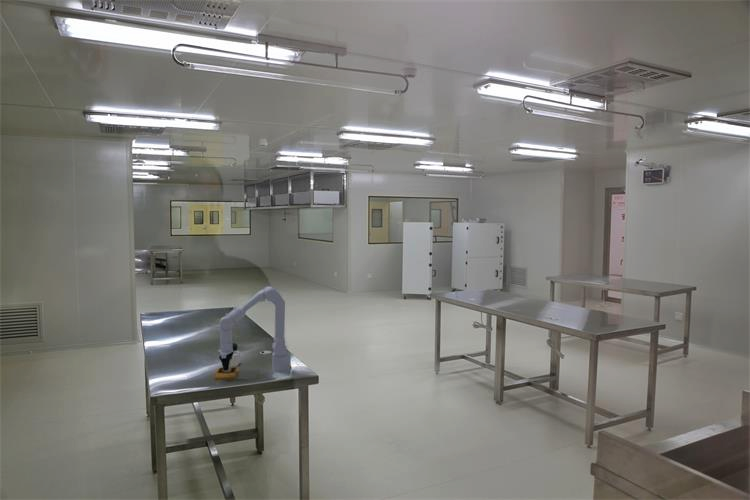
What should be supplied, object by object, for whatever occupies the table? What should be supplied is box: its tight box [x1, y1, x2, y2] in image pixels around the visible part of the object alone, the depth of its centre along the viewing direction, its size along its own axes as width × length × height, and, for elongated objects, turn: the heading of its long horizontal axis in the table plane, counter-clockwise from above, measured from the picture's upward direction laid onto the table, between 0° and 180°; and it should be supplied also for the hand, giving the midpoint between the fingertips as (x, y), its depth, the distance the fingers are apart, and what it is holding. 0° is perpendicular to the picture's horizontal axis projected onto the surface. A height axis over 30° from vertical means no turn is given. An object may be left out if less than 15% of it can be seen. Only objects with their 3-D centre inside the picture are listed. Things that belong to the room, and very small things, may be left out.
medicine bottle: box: [231, 342, 241, 367], centre depth 255 cm, size 7×7×12 cm
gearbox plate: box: [213, 366, 261, 381], centre depth 238 cm, size 20×13×4 cm, turn 96°
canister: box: [223, 359, 232, 373], centre depth 238 cm, size 4×4×7 cm
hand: (226, 368), depth 238 cm, fingers closed on canister, 4 cm apart
